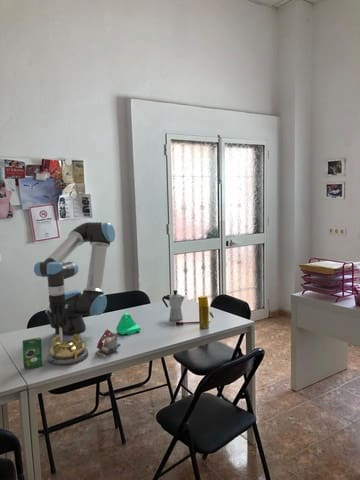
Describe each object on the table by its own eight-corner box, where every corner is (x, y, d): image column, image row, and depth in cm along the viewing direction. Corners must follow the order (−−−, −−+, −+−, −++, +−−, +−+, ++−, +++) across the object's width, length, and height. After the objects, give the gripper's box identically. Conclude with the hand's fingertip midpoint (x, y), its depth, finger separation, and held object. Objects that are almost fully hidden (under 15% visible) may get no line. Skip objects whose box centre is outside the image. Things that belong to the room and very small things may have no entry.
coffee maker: (186, 316, 247) (186, 288, 245) (185, 320, 238) (184, 292, 236) (163, 316, 249) (162, 288, 247) (161, 320, 240) (160, 292, 238)
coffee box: (42, 363, 182) (40, 336, 180) (43, 365, 179) (41, 338, 178) (23, 367, 178) (21, 340, 176) (24, 370, 175) (22, 342, 174)
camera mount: (121, 336, 215) (121, 318, 214) (116, 332, 222) (115, 315, 220) (141, 332, 221) (140, 314, 220) (135, 328, 228) (134, 311, 227)
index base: (38, 360, 185) (38, 350, 185) (69, 346, 201) (68, 337, 201) (66, 368, 175) (66, 358, 175) (96, 353, 191) (95, 344, 191)
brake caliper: (109, 339, 203) (116, 325, 197) (119, 356, 198) (127, 341, 192) (90, 346, 195) (97, 331, 189) (101, 363, 190) (108, 348, 184)
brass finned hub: (69, 361, 178) (68, 347, 177) (43, 356, 184) (42, 343, 184) (91, 348, 192) (90, 336, 191) (66, 344, 199) (65, 332, 198)
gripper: (48, 297, 182) (52, 346, 185) (72, 292, 192) (75, 338, 195) (40, 295, 187) (44, 342, 190) (64, 290, 197) (67, 334, 200)
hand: (60, 340), depth 193 cm, fingers closed
